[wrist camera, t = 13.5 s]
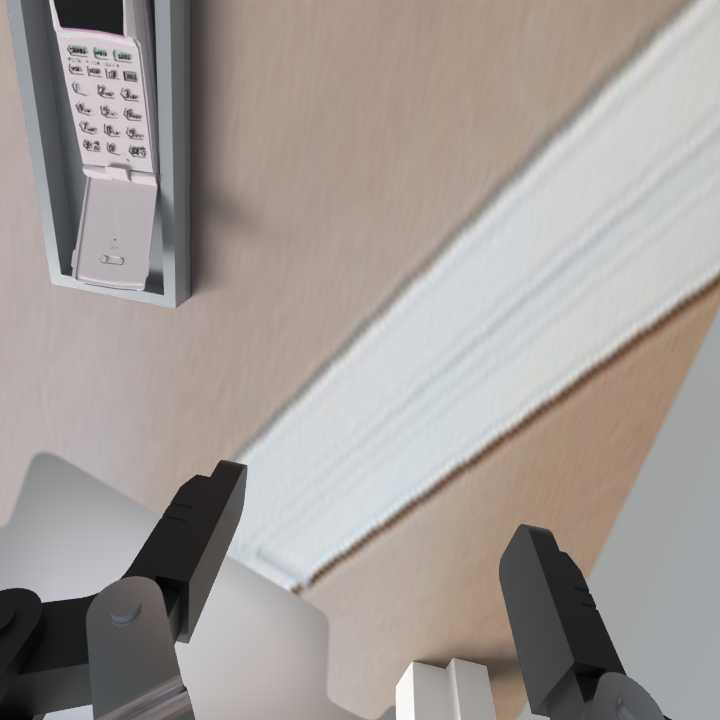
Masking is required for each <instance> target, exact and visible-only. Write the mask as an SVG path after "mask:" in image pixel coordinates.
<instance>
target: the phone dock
mask: <svg viewBox="0 0 720 720" xmlns="http://www.w3.org/2000/svg"><path fill="white" fill-rule="evenodd" d="M150 3H151V13H152V23H153V33H154V44H155V54H156V64H157V90H158V121H159V153H160V183H159V184H158V192H157V201H156V210H155V218H154V227H153V236H152V245H151V253H150V258H149V260H150V268H149V275H148V276H147V277H146V282H145V288H144V290H141V291H134V290H120V289H112V288H106V287H100V286H93V285H87V284H83V283H80V282H77V281H75V280H73V278H72V271H73V267H71V262H72V255H73V251H74V250H75V249H76V243H77V237H78V231H79V225H80V219H81V213H82V207H83V200H84V194H85V188H86V182H87V175H85V174H84V172H83V169H82V168H83V166H84V164H83V161H82V156H81V152H80V147H79V142H78V137H77V133H76V128H75V123H74V119H73V114H72V109H71V104H70V100H69V95H68V90H67V85H66V81H65V76H64V71H63V66H62V61H61V55H60V50H59V45H58V40H57V34H56V31H55V30H54V25H53V19H52V13H51V7H50V1H49V0H6V5H7V11H8V17H9V24H10V30H11V36H12V42H13V48H14V55H15V61H16V67H17V73H18V79H19V86H20V92H21V98H22V104H23V110H24V117H25V123H26V129H27V135H28V141H29V148H30V154H31V160H32V166H33V172H34V179H35V185H36V191H37V197H38V203H39V210H40V216H41V222H42V228H43V234H44V241H45V247H46V253H47V259H48V265H49V272H50V278H51V283H52V284H57V285H62V286H67V287H72V288H77V289H82V290H87V291H92V292H97V293H102V294H107V295H112V296H117V297H122V298H127V299H132V300H137V301H142V302H147V303H151V304H156V305H161V306H166V307H171V308H177V307H178V306H180V305H181V304H182V303H184V302H185V301H186V300H188V299H189V298H190V0H150Z"/></svg>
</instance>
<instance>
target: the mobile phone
mask: <svg viewBox="0 0 720 720" xmlns="http://www.w3.org/2000/svg"><path fill="white" fill-rule="evenodd" d="M49 1H50V7H51V13H52V19H53V25H54V30H55V31H56V34H57V40H58V45H59V50H60V55H61V61H62V66H63V71H64V76H65V81H66V85H67V90H68V95H69V100H70V104H71V109H72V114H73V119H74V123H75V128H76V133H77V137H78V142H79V147H80V152H81V156H82V161H83V164H84V166H83V168H82V169H83V172H84V174H85V175H87V182H86V188H85V194H84V200H83V207H82V213H81V219H80V225H79V231H78V237H77V243H76V249H75V250H74V251H73V255H72V262H71V267H73V271H72V278H73V280H75V281H77V282H80V283H83V284H87V285H93V286H100V287H106V288H112V289H120V290H134V291H141V290H144V288H145V282H146V277H147V276H148V275H149V268H150V260H149V258H150V253H151V245H152V236H153V227H154V218H155V210H156V201H157V192H158V184H159V183H160V153H159V121H158V90H157V64H156V54H155V44H154V33H153V23H152V13H151V3H150V0H49Z"/></svg>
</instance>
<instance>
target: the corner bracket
mask: <svg viewBox="0 0 720 720" xmlns="http://www.w3.org/2000/svg"><path fill="white" fill-rule="evenodd" d="M396 720H496V715H495V710H494V704H493V699H492V693H491V688H490V682H489V677H488V671H487V666H485V665H481V664H477V663H473V662H468V661H464V660H460V659H456V658H453V659H452V660H451V662H450V663H449V665H448V666H447V667H446V669H443V668H439V667H435V666H431V665H426V664H422V663H418V662H414V661H412V663H411V664H410V666H409V667H408V669H407V670H406V672H405V673H404V675H403V677H402V678H401V680H400V681H399V683H398V684H397V686H396Z"/></svg>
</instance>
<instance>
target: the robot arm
mask: <svg viewBox="0 0 720 720" xmlns="http://www.w3.org/2000/svg"><path fill="white" fill-rule="evenodd" d="M246 478H247V465H244V464H239V463H234V462H230V461H225V460H220V461H219V463H218V464H217V466H216V468H215V470H214V472H213V473H212V475H211V477H206V476H202V475H196V476H194V477H193V478H192V479H190V480H189V481H188V482H186V483H185V484H184V485H182V486H181V487H180V489H179V490H178V492H177V493H176V495H175V497H174V498H173V500H172V501H171V504H170V506H168V508H167V509H166V511H165V512H164V514H163V516H162V519H160V520H159V522H158V523H157V525H156V527H155V528H154V530H153V531H152V533H151V534H150V536H149V538H148V539H147V541H146V542H145V544H144V546H143V547H142V549H141V550H140V552H139V553H138V555H137V557H136V558H135V560H134V561H133V563H132V565H131V566H130V568H129V569H128V570H127V572H126V573H125V574H124V575H123V576H122V578H121V579H119V580H118V581H116V582H114V583H112V584H110V585H109V586H107V587H106V588H104V589H103V590H102V591H101V592H99V593H97V594H94V595H91V596H88V597H83V598H77V599H69V600H61V601H53V602H45V603H41V600H40V598H39V597H38V595H37V594H36V593H34V592H33V591H30V590H28V589H24V588H12V589H6V590H2V591H0V720H43V718H44V716H45V715H46V713H50V712H55V711H60V710H65V709H70V708H75V707H80V706H85V705H91V704H92V706H93V717H94V720H195V717H194V712H193V709H192V704H191V700H190V697H189V694H188V691H187V688H186V687H185V686H184V684H183V681H182V678H181V674H180V669H179V665H178V661H177V656H176V652H175V647H174V645H175V643H176V641H178V642H183V643H189V641H190V638H191V636H192V633H193V631H194V629H195V626H196V624H197V622H198V619H199V617H200V614H201V612H202V609H203V607H204V605H205V602H206V600H207V598H208V595H209V593H210V591H211V588H212V586H213V583H214V581H215V579H216V576H217V574H218V571H219V569H220V566H221V564H222V561H223V559H224V557H225V555H226V552H227V550H228V547H229V545H230V543H231V540H232V538H233V535H234V533H235V531H236V528H237V526H238V523H239V520H240V517H241V514H242V510H243V505H244V498H245V488H246ZM499 579H500V583H501V587H502V592H503V596H504V600H505V604H506V608H507V612H508V617H509V621H510V625H511V629H512V633H513V637H514V642H515V646H516V650H517V654H518V658H519V662H520V667H521V671H522V675H523V679H524V683H525V687H526V691H527V696H528V700H529V704H530V708H531V712H532V714H537V715H542V716H547V717H550V720H671V719H669V718H668V717H666V716H664V715H663V714H662V712H661V710H660V708H659V706H658V705H657V703H656V702H655V701H654V699H653V698H652V697H651V696H650V694H649V693H648V692H647V691H646V690H645V689H644V688H643V687H642V686H641V685H639V684H638V683H637V682H636V681H634V680H633V679H631V678H629V677H628V676H627V675H626V673H625V671H624V669H623V666H622V664H621V662H620V660H619V657H618V655H617V653H616V650H615V648H614V646H613V644H612V641H611V639H610V637H609V634H608V632H607V630H606V627H605V625H604V623H603V621H602V618H601V616H600V614H599V612H598V610H596V605H595V602H594V600H593V598H592V595H591V594H589V589H588V586H587V584H586V582H585V579H584V577H583V575H582V572H581V570H580V569H579V568H578V567H577V565H576V564H575V563H574V562H573V560H572V559H571V558H570V557H569V555H568V554H567V553H565V552H561V551H559V548H558V546H557V543H556V541H555V538H554V536H553V534H552V532H551V531H550V530H548V529H544V528H539V527H535V526H530V525H525V524H521V525H520V526H519V527H518V528H517V530H516V532H515V534H514V535H513V537H512V539H511V541H510V543H509V544H508V546H507V548H506V550H505V552H504V553H503V555H502V557H501V560H500V565H499Z"/></svg>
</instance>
